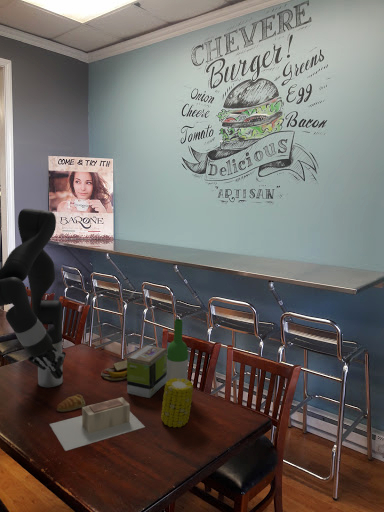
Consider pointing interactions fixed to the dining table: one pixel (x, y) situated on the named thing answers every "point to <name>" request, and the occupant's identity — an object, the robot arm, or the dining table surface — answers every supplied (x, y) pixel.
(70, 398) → the pastry
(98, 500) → the dining table surface
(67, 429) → the grey mat
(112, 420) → the maple block
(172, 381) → the food
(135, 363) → the tea box
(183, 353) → the wine bottle
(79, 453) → the dining table surface
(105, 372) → the toy sandwich meal
